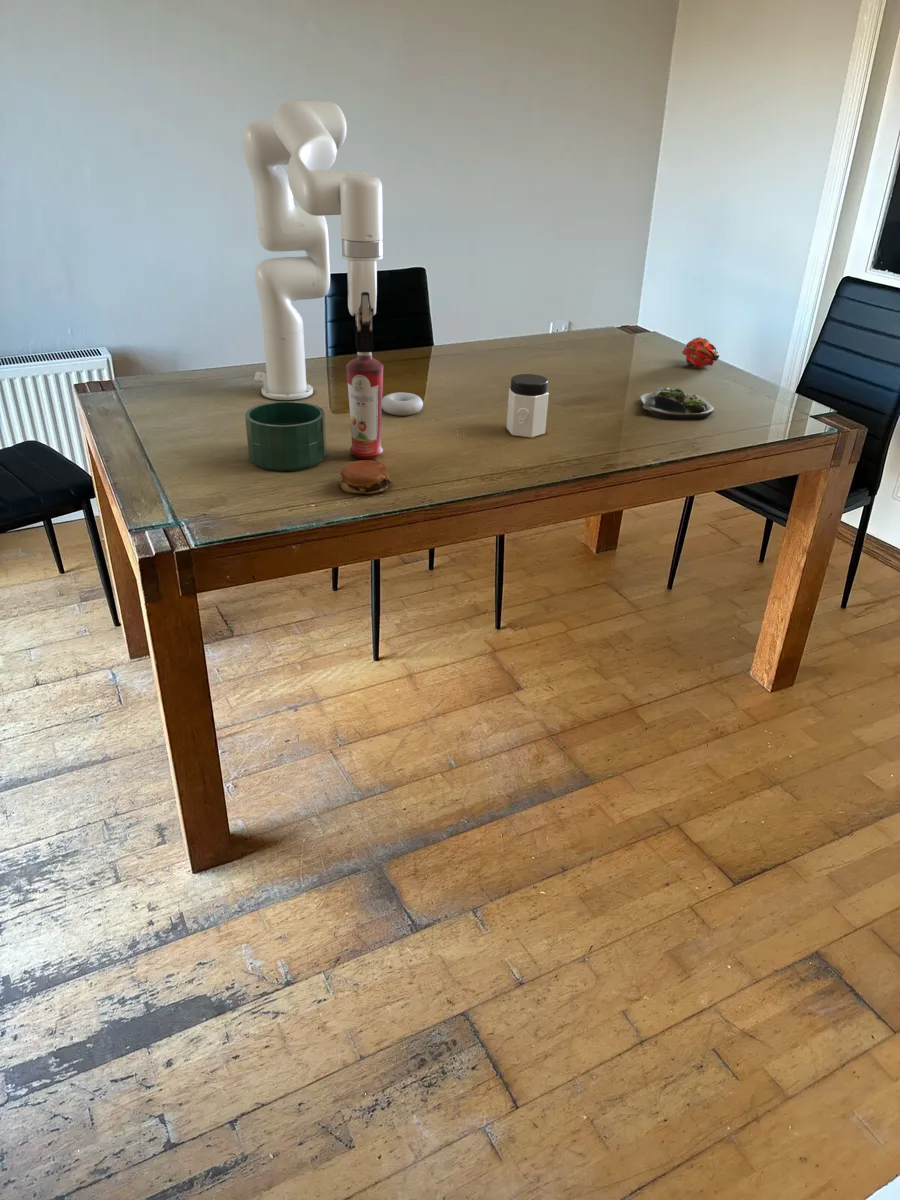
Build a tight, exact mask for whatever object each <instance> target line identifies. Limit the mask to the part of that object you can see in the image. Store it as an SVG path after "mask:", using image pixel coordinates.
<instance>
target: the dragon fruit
mask: <svg viewBox="0 0 900 1200" xmlns="http://www.w3.org/2000/svg"><path fill="white" fill-rule="evenodd" d="M681 352H682V355H684V356H685V361H686V364H687V365H694V366H695V367H696V368H697V369H700V370H706V367H705V366H711V367H713V366H714V364H716V362H717V360H719V359H720V355H719V352H718V351H717V347H715V345H714V344H713V343H711V342H710V340H708V339H706V338H704V337H700V336H699V337H696V338H693V339H691V340H689V342H687V343H686V344H685V347H684V349H683V351H681Z"/></svg>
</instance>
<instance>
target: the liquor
mask: <svg viewBox="0 0 900 1200" xmlns="http://www.w3.org/2000/svg"><path fill="white" fill-rule="evenodd" d="M361 319H362V318H360V321H361ZM357 328H358V325H357ZM356 353H357V354H356V356H357V357H356V358H353V359H351V360H350V361H349V362H348V363H347V364H346V366H345V367H346V368H345V369H346V380H347V383H346V384H347V395H348V404H349V418H350V434H351V446H350V448H349V452H350V453H351V454H352V455H353V456H355V458H357V459H359V460H370V461H372V460H374V459H375V460H376V458H378V457H379V456H380V455H381V454H382V453H383V452H384V448H383V446H382V410H383V408H382V399H383V393H384V392H383V389H384V364H383V363H382V362H380V361H379V360H378V359H376V358H373V352H357V351H356Z"/></svg>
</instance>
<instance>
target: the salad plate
mask: <svg viewBox="0 0 900 1200" xmlns="http://www.w3.org/2000/svg"><path fill="white" fill-rule="evenodd" d="M640 401H641V403H642V409H643V410H646V411H647V412H649V414H650V415H651V416H654V417H657V418H660V419H664V420H665V419H666V420H676V421H697V420H705V419H707V418H708V417H710V416H711V415H712V414H713V413H714V410H715V408H714V407H713V406H712V405H711V404H710V403H709V402H708V401H707V399H705V398H704V397H702V396H701V395H698V394H693V393H687V392H686V393H685V392H684V391H683V390H682V389H681V388H679V387H677V388H671V389H670V387H669V386H666V388H663V387H659V388H656V389H655V392H649V393H648V392H647V393H644V394H642V395H640Z"/></svg>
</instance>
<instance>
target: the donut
mask: <svg viewBox="0 0 900 1200" xmlns="http://www.w3.org/2000/svg"><path fill="white" fill-rule="evenodd" d="M423 407H424V401H423V399H422V398H421V396H419V395H417V394H415V393H411V392H402V391H400V392H392V393H389V394H388V393H387V394H386V395H385V396H383V397H382V410H383V411H384V412H385V413H387V414H390V415H393V416H398V417H399V416H401V417H404V416H412V415H415V414H418V413H419V412H421V410H422V409H423Z"/></svg>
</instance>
